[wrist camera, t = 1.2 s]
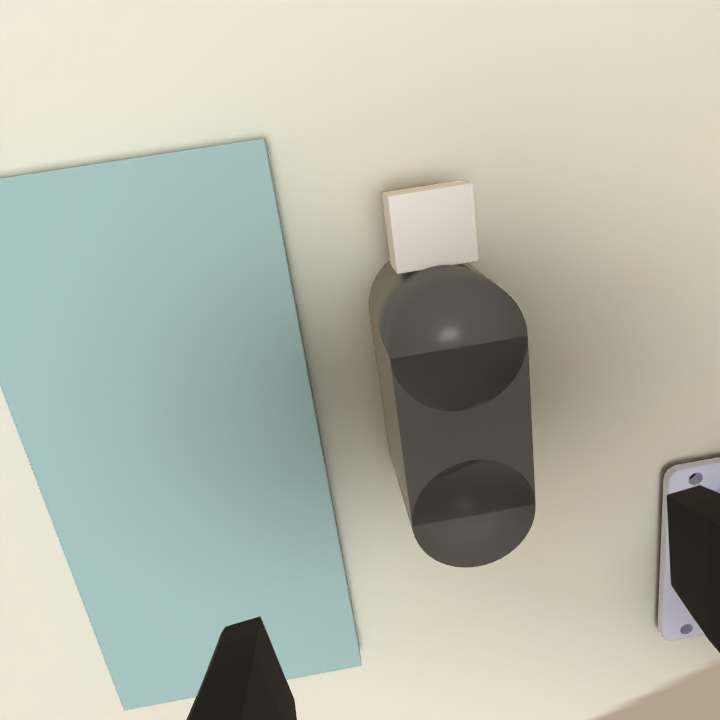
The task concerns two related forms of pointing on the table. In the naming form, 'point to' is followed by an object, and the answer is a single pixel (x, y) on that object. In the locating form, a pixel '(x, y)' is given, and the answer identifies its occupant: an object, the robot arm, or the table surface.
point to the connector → (452, 381)
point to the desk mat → (172, 412)
